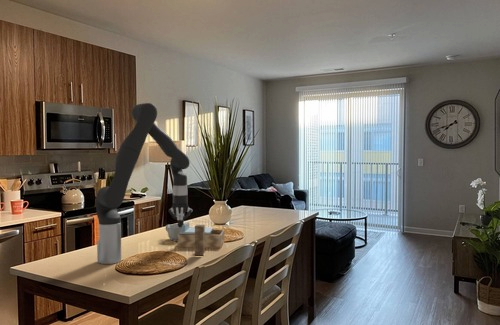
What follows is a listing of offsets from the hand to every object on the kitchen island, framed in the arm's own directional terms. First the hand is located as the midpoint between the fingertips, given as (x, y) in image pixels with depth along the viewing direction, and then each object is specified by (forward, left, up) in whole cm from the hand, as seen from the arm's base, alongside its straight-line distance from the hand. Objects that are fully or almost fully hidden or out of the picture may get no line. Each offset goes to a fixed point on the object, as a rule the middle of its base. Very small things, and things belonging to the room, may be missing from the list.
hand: (180, 227), depth 194 cm
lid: (+9, 0, -2) cm, 9 cm away
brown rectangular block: (+13, -17, -9) cm, 24 cm away
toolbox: (+11, 0, -9) cm, 15 cm away
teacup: (-6, +13, -10) cm, 17 cm away
